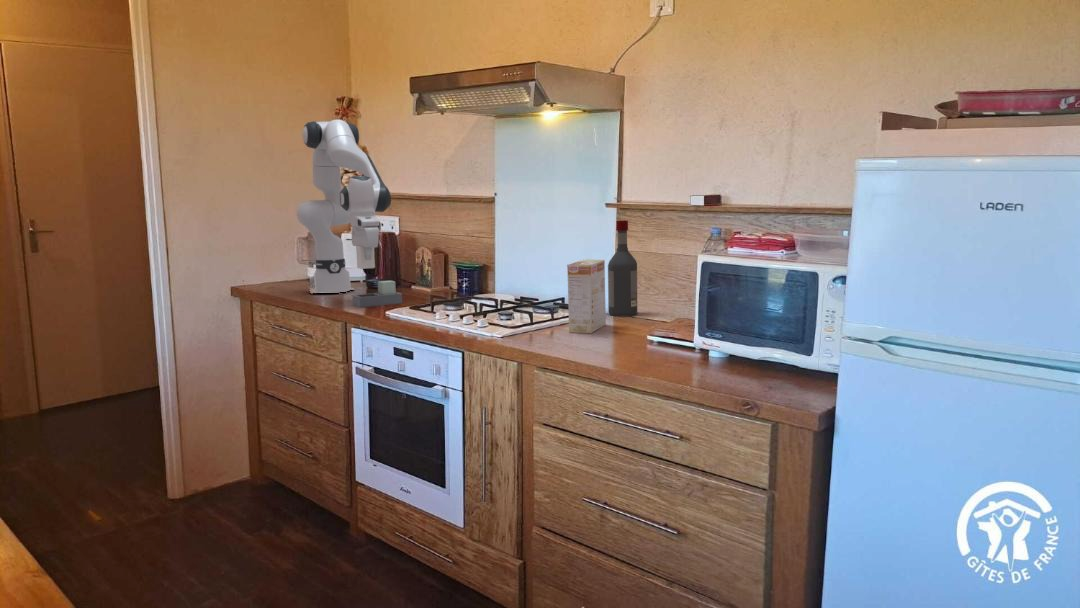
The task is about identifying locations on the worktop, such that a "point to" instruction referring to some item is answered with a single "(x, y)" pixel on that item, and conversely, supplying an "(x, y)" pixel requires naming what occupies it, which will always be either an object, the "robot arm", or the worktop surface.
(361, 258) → the ivory plug
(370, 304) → the slot rack
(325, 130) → the robot arm
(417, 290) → the worktop surface
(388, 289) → the sage plug
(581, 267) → the coffeecake box
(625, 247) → the liquor
